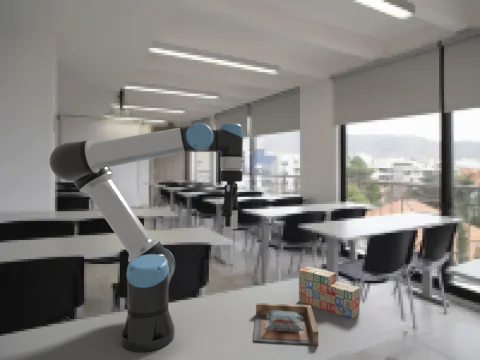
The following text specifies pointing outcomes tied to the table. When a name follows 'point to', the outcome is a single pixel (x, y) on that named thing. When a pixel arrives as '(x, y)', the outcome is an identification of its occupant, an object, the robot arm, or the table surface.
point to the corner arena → (283, 337)
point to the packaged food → (284, 321)
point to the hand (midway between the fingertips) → (230, 232)
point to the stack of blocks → (328, 292)
